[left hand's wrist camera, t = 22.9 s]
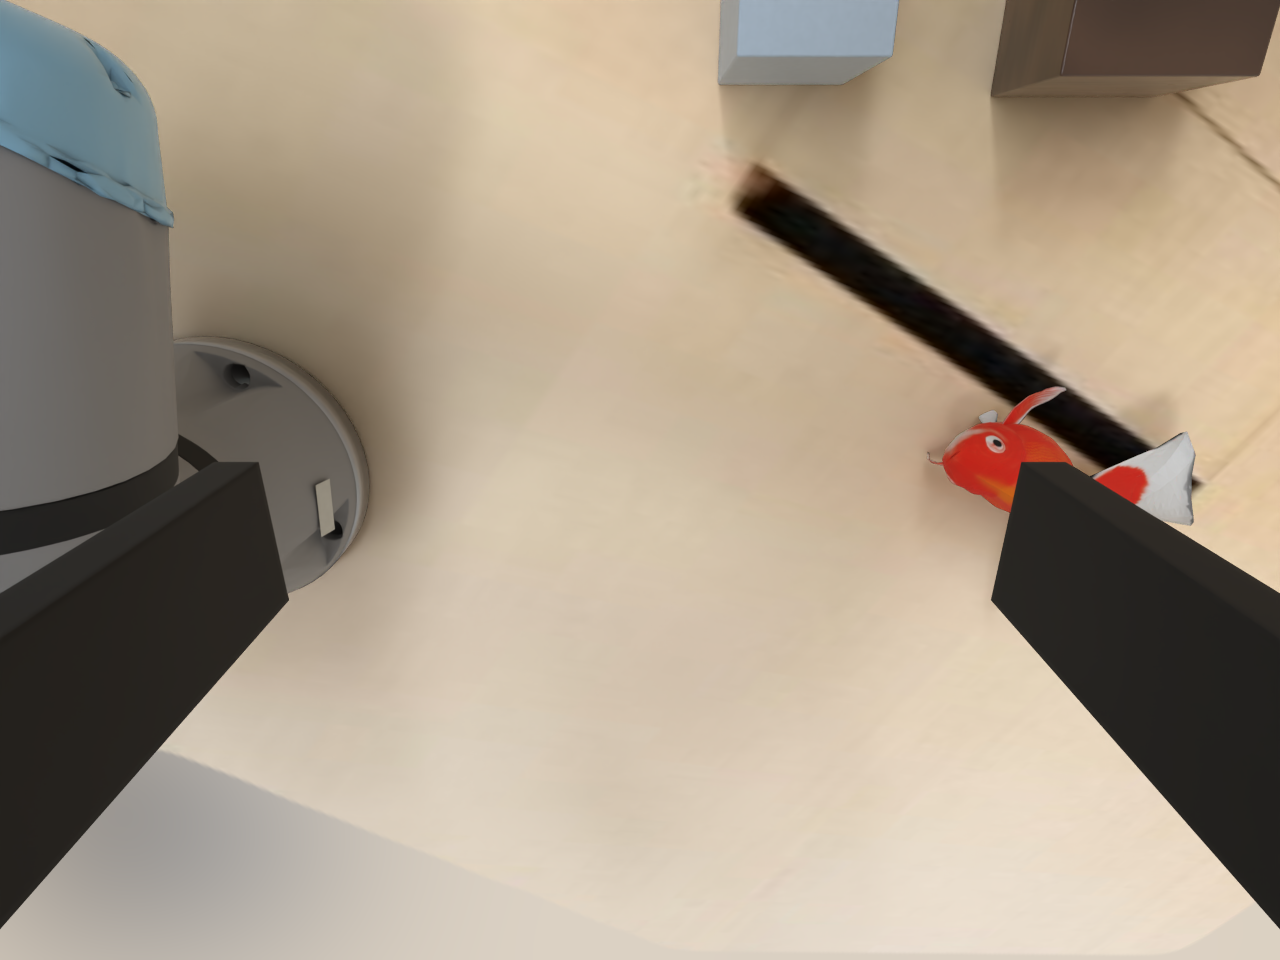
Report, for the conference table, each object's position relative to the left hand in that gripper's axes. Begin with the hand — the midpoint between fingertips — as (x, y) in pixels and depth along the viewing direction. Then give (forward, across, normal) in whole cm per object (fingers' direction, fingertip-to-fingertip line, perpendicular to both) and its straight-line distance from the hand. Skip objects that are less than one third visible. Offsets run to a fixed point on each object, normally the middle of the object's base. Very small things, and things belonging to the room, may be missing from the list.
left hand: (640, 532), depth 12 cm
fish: (+27, -22, +8) cm, 36 cm away
